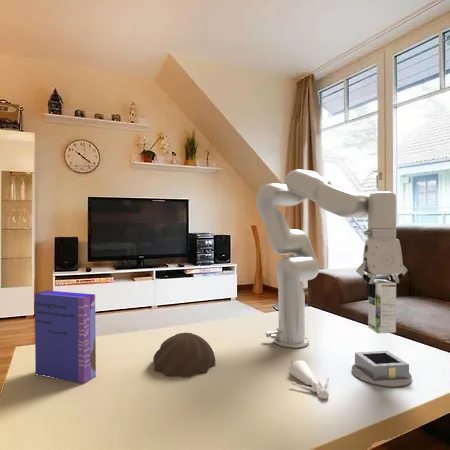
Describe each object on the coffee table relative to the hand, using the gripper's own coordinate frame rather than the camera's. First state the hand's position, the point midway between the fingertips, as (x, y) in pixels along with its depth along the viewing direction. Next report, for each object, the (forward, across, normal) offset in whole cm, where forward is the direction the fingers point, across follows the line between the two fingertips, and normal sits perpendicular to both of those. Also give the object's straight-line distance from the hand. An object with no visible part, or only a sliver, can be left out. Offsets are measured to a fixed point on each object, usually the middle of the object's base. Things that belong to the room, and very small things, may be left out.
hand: (381, 296), depth 104 cm
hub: (+23, 0, 0) cm, 23 cm away
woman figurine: (+24, -23, -2) cm, 33 cm away
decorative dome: (+23, -57, +16) cm, 63 cm away
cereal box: (+23, -91, +12) cm, 95 cm away
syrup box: (+10, 0, 0) cm, 10 cm away
